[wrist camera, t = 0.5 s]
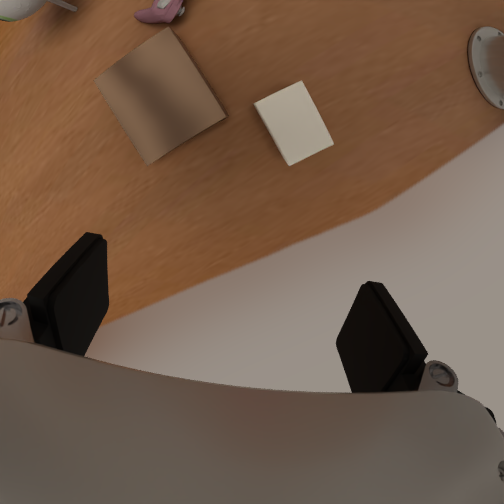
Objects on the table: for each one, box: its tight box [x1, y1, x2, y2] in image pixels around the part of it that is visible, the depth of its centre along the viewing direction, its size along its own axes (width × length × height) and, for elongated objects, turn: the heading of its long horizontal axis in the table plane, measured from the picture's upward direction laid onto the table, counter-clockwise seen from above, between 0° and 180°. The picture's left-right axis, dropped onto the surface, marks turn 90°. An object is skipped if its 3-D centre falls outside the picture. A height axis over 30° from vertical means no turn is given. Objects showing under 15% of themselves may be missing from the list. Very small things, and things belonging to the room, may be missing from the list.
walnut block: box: [94, 27, 229, 166], centre depth 27 cm, size 9×11×5 cm
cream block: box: [253, 81, 334, 166], centre depth 29 cm, size 5×7×4 cm
